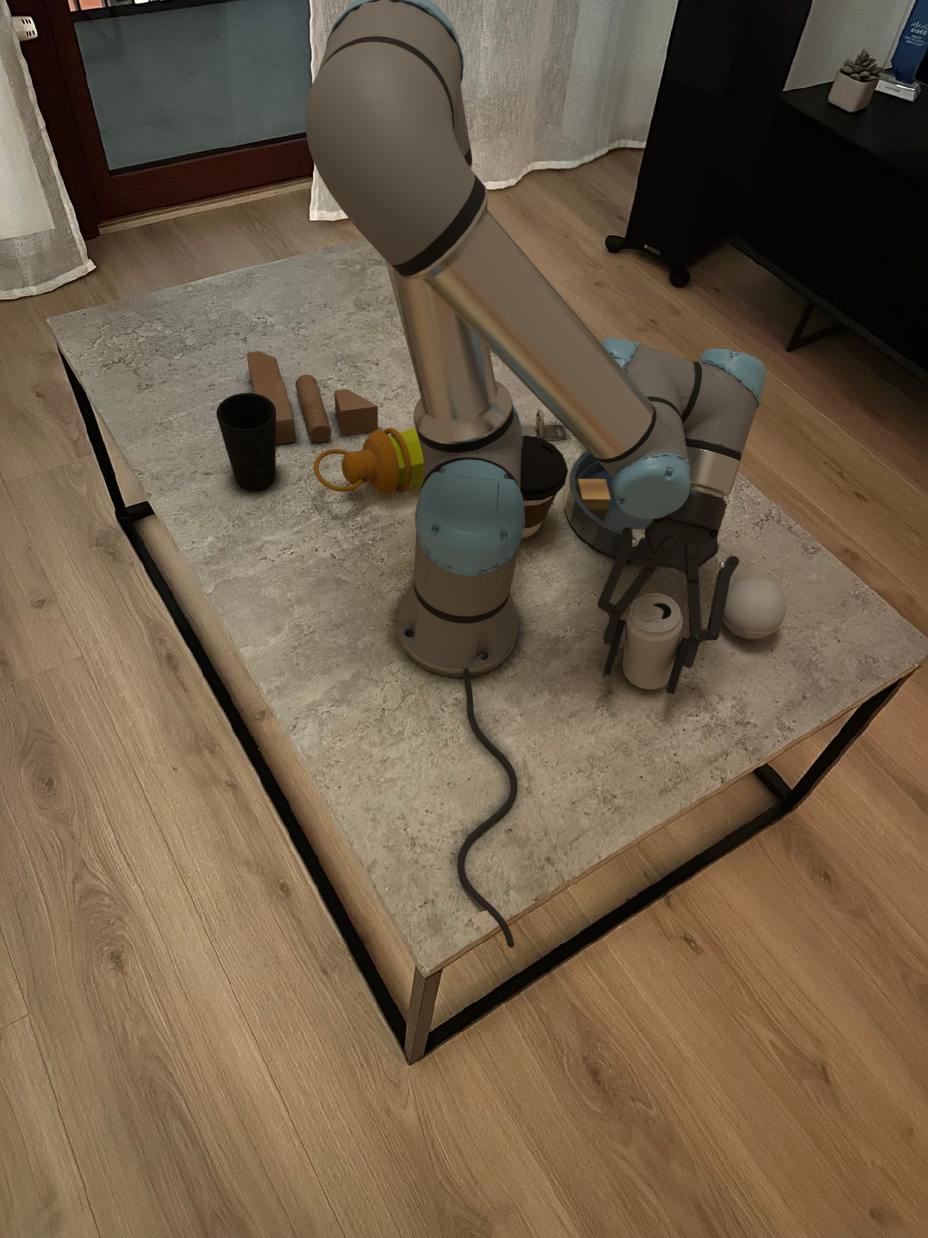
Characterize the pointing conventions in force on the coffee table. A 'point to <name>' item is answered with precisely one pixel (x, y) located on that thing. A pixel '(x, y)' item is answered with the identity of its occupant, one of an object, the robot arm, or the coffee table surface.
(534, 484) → the coffee cup
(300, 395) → the wooden block set
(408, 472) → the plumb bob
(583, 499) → the block
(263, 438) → the cup
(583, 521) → the bowl
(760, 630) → the bath bomb
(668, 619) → the beverage can
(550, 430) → the strap clip
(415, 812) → the coffee table surface
